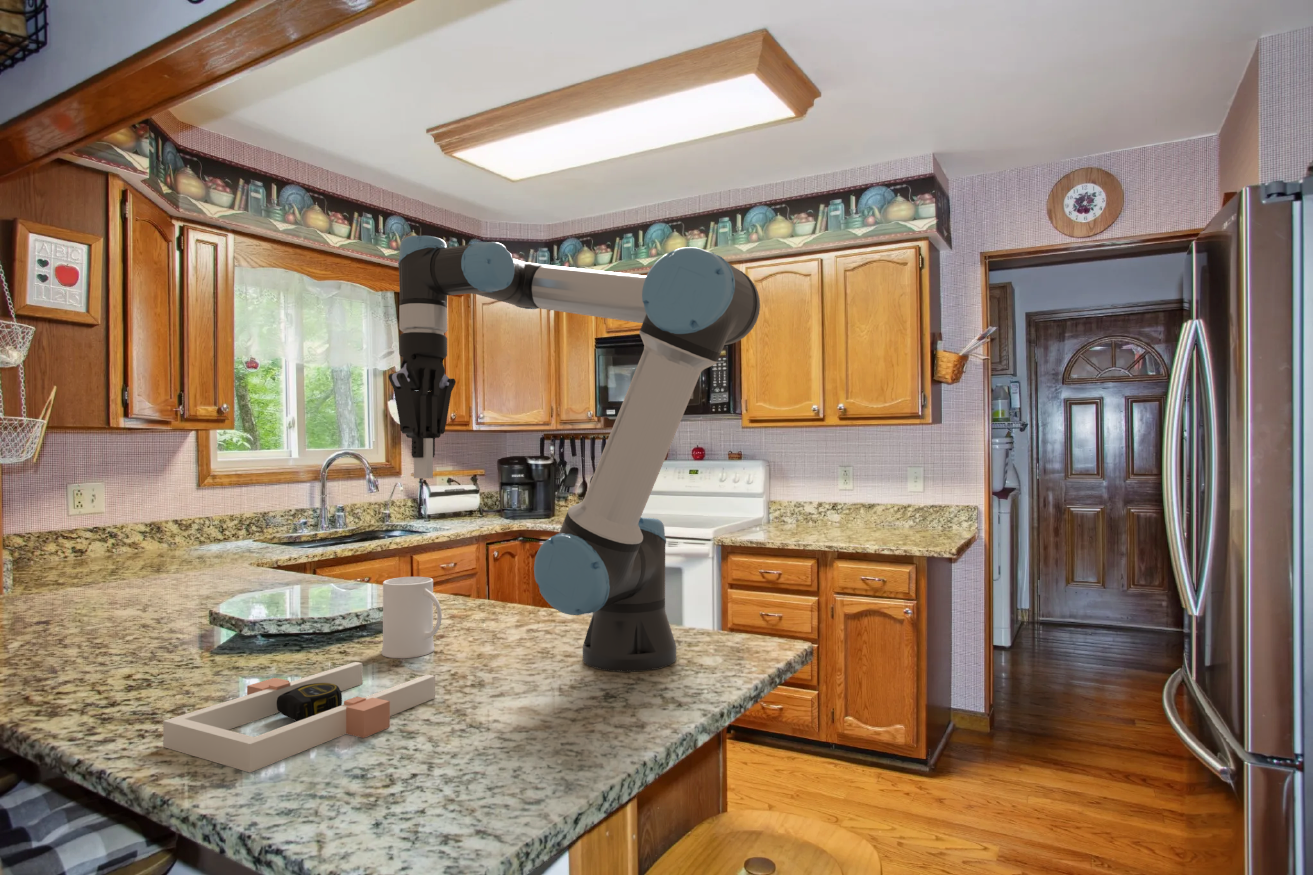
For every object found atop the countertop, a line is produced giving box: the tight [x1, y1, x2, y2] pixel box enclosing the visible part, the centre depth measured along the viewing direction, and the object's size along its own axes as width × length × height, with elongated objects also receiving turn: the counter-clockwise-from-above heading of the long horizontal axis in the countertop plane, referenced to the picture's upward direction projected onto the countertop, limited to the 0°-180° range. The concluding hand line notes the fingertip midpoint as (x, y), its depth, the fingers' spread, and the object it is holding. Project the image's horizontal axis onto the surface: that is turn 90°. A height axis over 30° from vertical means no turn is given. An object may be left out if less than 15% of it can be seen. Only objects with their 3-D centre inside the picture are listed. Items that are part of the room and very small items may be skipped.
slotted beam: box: [162, 661, 436, 773], centre depth 99 cm, size 22×28×3 cm
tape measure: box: [277, 683, 343, 722], centre depth 100 cm, size 7×7×4 cm
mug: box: [380, 576, 443, 659], centre depth 131 cm, size 12×8×12 cm
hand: (423, 478), depth 127 cm, fingers closed
